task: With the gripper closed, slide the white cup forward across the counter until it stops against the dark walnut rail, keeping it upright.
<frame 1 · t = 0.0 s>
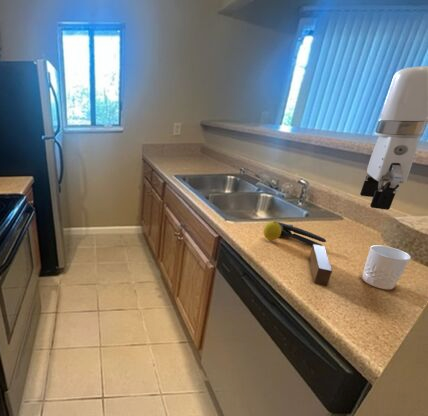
hand: (373, 201, 66), 26 cm above the worktop, tool pointing down, fingers open, 9 cm apart
walnut rail: (317, 270, 84), on the worktop
lemon: (269, 241, 103), on the worktop
can opener: (294, 240, 103), on the worktop
white cup: (377, 283, 79), on the worktop
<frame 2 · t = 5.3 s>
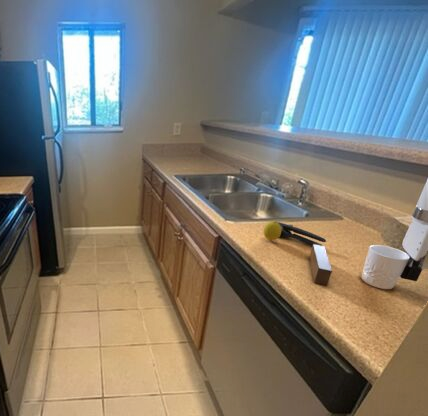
hand: (407, 278, 75), 3 cm above the worktop, tool pointing down, fingers closed
white cup: (376, 282, 79), on the worktop, touching gripper
everything else where it was.
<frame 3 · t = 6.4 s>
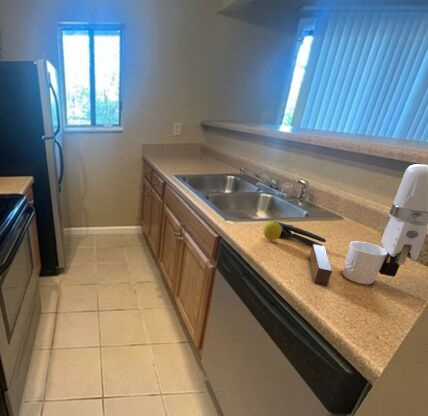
hand: (386, 273, 77), 3 cm above the worktop, tool pointing down, fingers closed
white cup: (357, 278, 81), on the worktop, touching gripper
everything else where it was.
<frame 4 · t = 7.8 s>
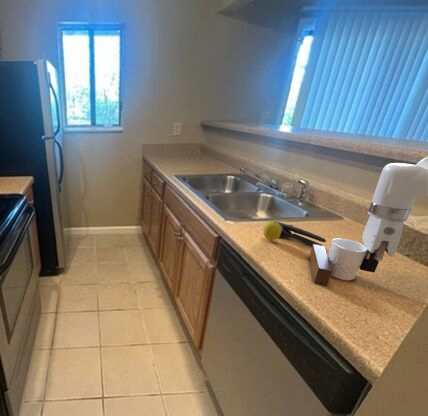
hand: (366, 269, 79), 3 cm above the worktop, tool pointing down, fingers closed
white cup: (339, 274, 83), on the worktop, touching gripper
everything else where it was.
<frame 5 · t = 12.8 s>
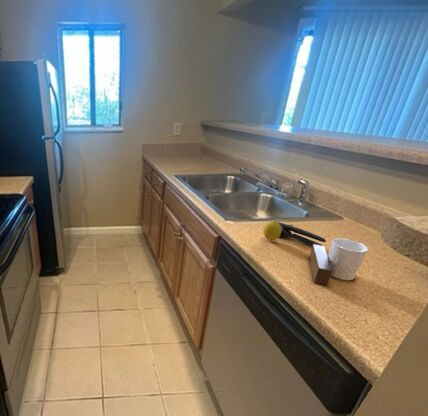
white cup: (339, 274, 83), on the worktop
everything else where it was.
at the end: white cup 0.1 cm from the target spot, on the worktop; white cup tilted 0°; white cup moved 8.6 cm from its start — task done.
